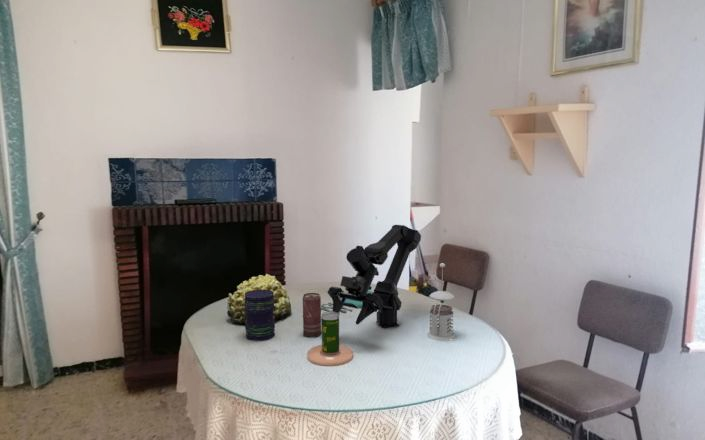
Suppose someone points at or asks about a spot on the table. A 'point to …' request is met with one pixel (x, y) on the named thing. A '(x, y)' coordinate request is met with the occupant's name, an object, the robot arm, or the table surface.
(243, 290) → the cauliflower
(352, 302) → the cutlery set
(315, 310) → the can
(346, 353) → the saucer
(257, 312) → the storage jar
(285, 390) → the table surface
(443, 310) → the french press
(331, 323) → the beer can
